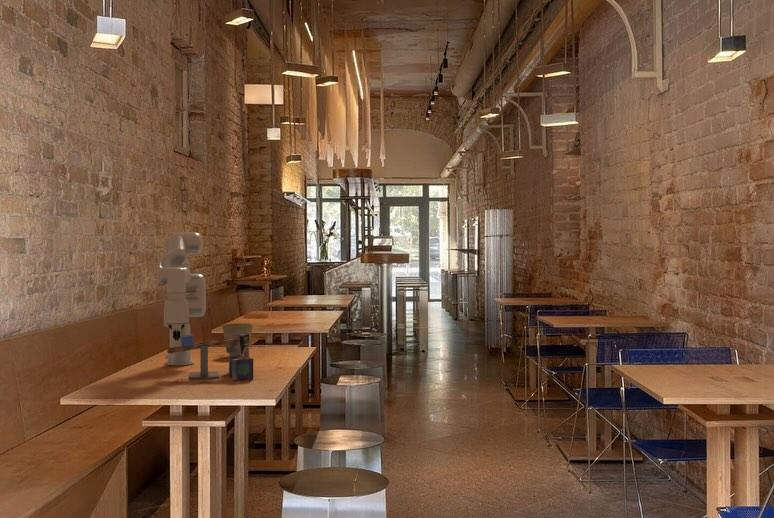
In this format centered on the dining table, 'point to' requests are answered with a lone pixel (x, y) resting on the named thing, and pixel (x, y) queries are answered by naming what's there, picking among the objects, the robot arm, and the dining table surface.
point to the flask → (242, 369)
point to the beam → (230, 343)
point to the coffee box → (241, 345)
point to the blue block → (187, 341)
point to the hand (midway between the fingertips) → (176, 340)
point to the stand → (204, 366)
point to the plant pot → (237, 329)
